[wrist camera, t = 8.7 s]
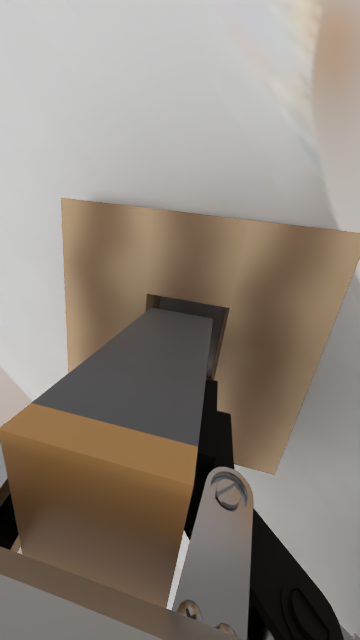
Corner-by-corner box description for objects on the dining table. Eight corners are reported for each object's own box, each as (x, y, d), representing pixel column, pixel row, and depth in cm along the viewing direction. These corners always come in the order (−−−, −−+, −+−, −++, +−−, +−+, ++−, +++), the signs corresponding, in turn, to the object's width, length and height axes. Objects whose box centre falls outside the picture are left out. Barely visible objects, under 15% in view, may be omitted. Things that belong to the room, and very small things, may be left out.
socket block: (335, 238, 14) (369, 234, 11) (266, 438, 20) (274, 474, 17) (92, 208, 17) (61, 197, 14) (92, 395, 23) (70, 419, 19)
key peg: (212, 318, 13) (193, 485, 4) (197, 397, 15) (159, 637, 6) (151, 307, 14) (-3, 429, 4) (144, 385, 16) (29, 585, 6)
